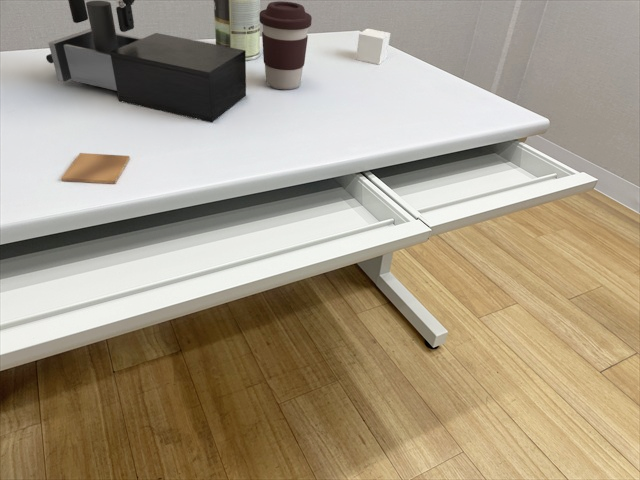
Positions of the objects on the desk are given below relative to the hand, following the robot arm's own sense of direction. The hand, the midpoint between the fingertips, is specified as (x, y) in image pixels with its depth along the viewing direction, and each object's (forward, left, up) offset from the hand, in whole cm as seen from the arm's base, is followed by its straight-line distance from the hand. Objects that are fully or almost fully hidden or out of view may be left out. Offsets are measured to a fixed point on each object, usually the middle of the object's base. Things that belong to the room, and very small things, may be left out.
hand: (104, 25), depth 85 cm
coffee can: (+21, +23, -11) cm, 33 cm away
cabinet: (+14, -5, -10) cm, 19 cm away
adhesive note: (+53, +27, -11) cm, 61 cm away
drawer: (-1, 0, -9) cm, 9 cm away
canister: (0, 0, -8) cm, 8 cm away
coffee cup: (+32, +6, -11) cm, 34 cm away
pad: (+7, -32, -10) cm, 35 cm away
